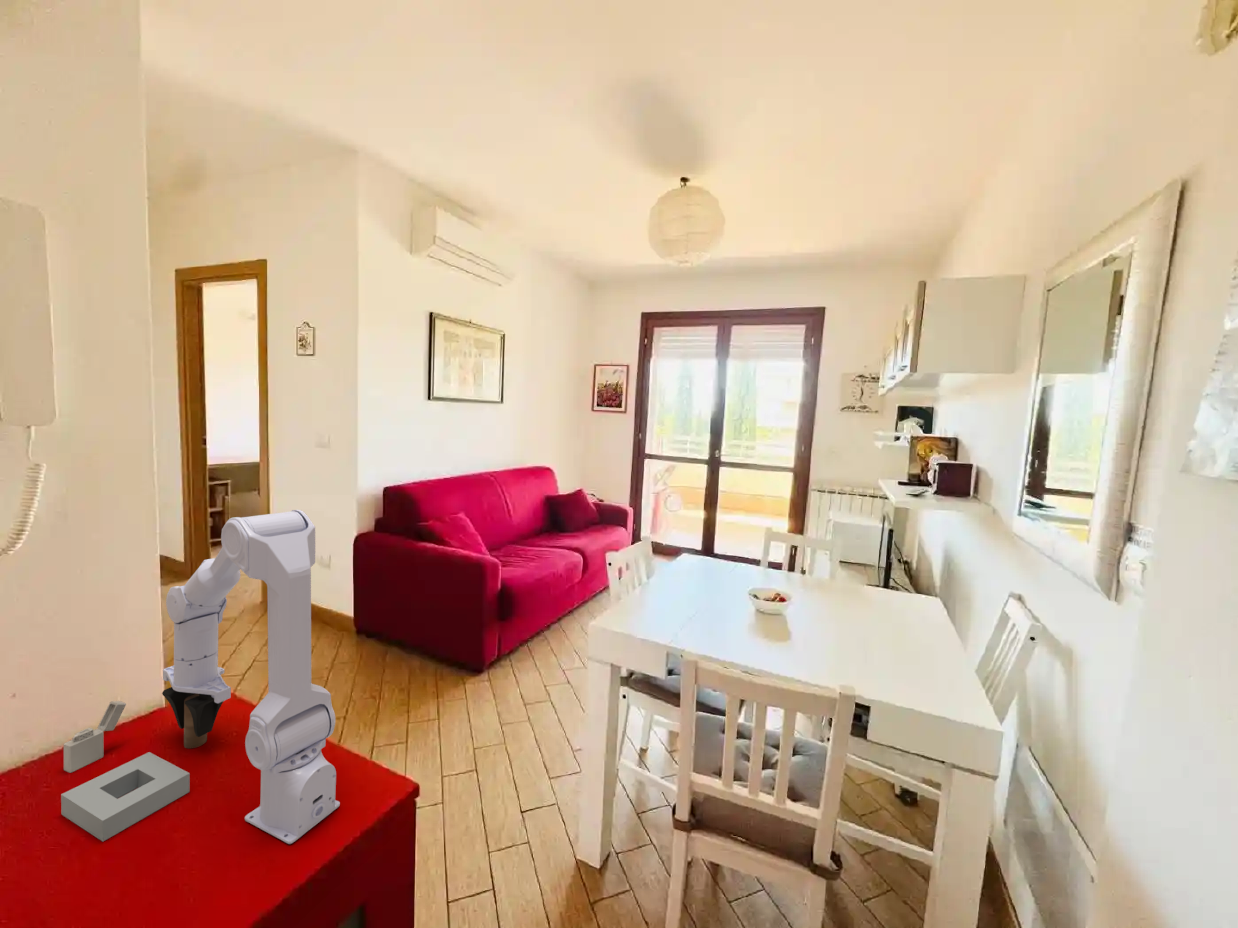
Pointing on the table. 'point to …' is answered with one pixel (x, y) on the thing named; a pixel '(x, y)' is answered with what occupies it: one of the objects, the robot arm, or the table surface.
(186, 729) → the walnut peg
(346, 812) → the table surface
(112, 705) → the lighter
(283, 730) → the robot arm
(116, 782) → the socket block
